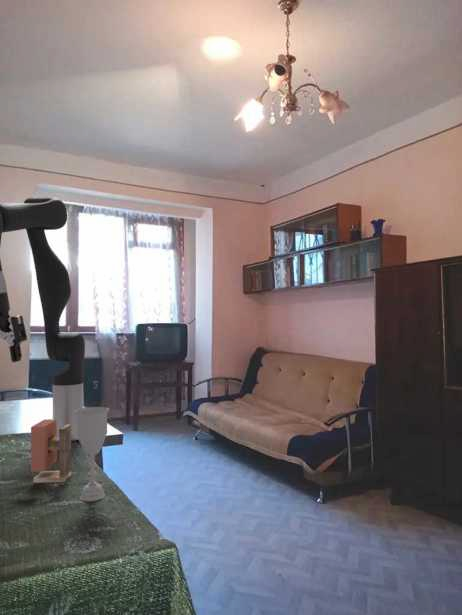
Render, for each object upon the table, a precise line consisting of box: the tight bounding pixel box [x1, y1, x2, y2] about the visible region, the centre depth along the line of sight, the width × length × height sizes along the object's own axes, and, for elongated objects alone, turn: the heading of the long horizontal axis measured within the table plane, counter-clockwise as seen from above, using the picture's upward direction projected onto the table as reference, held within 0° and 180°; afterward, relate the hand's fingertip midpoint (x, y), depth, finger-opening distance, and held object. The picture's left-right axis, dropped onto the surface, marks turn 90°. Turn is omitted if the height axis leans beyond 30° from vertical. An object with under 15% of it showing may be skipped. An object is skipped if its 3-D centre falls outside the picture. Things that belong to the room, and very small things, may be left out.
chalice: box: [74, 406, 110, 502], centre depth 97 cm, size 7×7×18 cm
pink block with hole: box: [30, 418, 58, 473], centre depth 108 cm, size 8×3×10 cm, turn 2°
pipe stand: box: [32, 424, 72, 484], centre depth 108 cm, size 5×7×12 cm
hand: (0, 362), depth 106 cm, fingers open, 8 cm apart
